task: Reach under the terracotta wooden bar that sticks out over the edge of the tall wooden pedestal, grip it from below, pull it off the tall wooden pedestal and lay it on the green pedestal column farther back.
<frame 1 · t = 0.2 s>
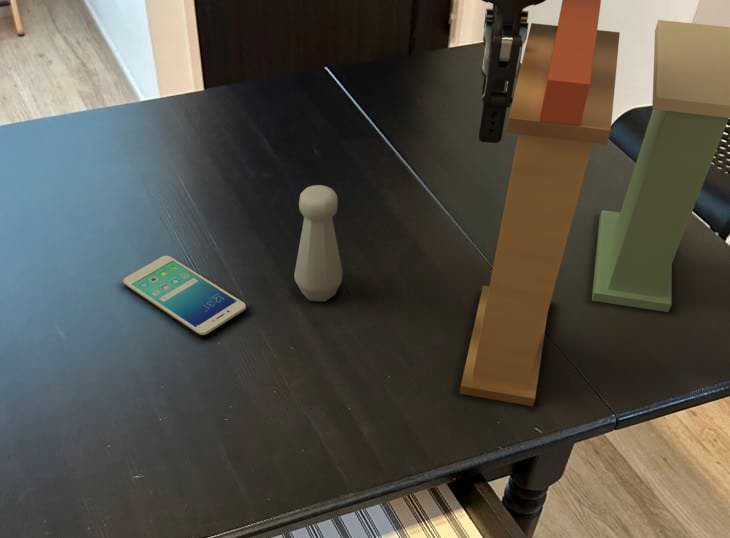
hand: (490, 119, 84), 21 cm above the table, tool pointing down, fingers open, 8 cm apart
tall wooden pedestal: (505, 346, 94), on the table
smartphone: (184, 299, 100), on the table
salt shaker: (318, 292, 101), on the table
green pedestal column: (631, 262, 104), on the table
bar: (572, 46, 73), point 30 cm above the table, touching tall wooden pedestal
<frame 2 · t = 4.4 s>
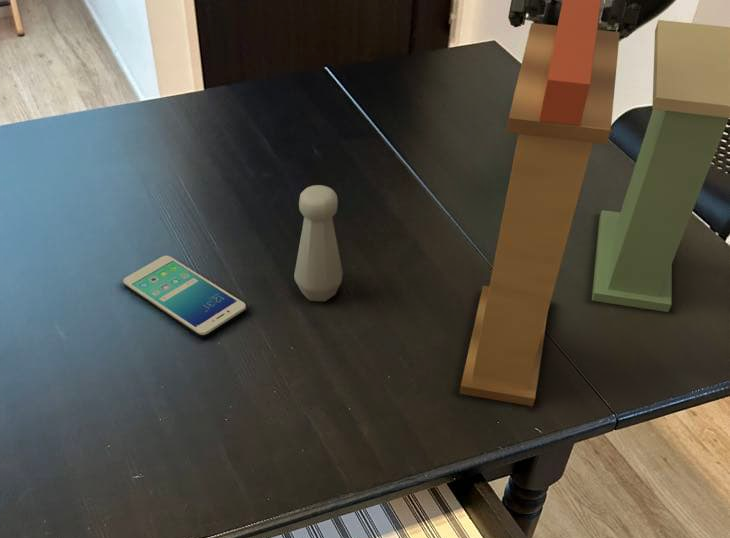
hand: (576, 2, 89), 26 cm above the table, tool pointing upward, fingers open, 8 cm apart
nothing on the table moved.
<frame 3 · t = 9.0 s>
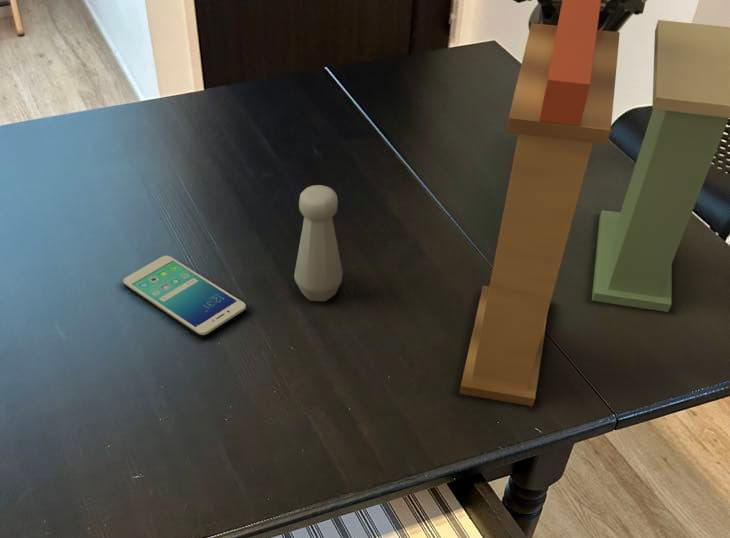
bar: (572, 46, 73), point 30 cm above the table, touching gripper, tall wooden pedestal
everything else where it was.
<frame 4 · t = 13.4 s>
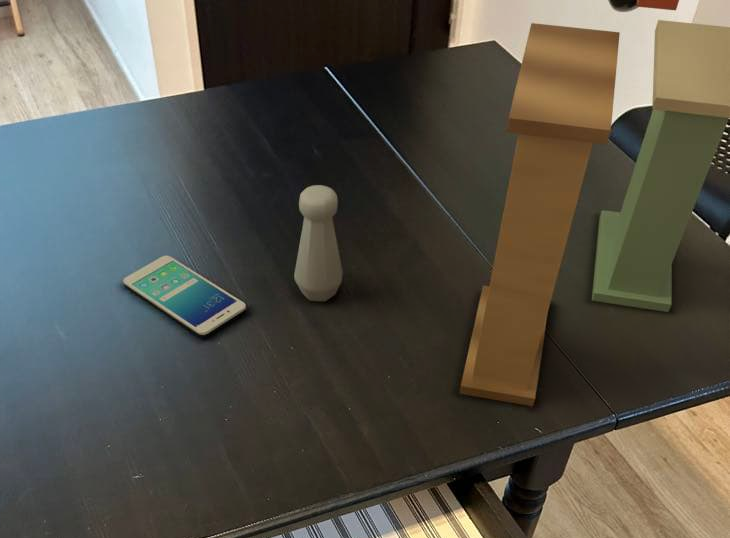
when the fingers open (27 cm above the table, at t = 17.8 s): bar stays where it is, resting on green pedestal column.
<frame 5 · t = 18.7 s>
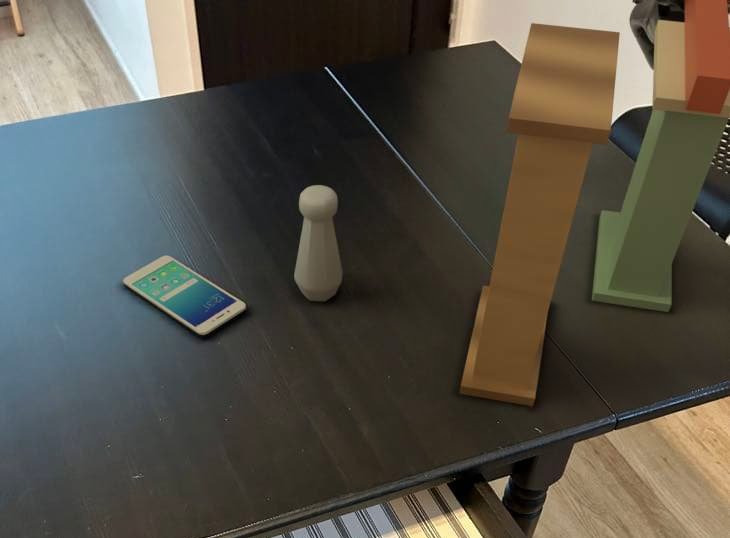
bar: (700, 47, 86), point 24 cm above the table, touching green pedestal column
everything else where it was.
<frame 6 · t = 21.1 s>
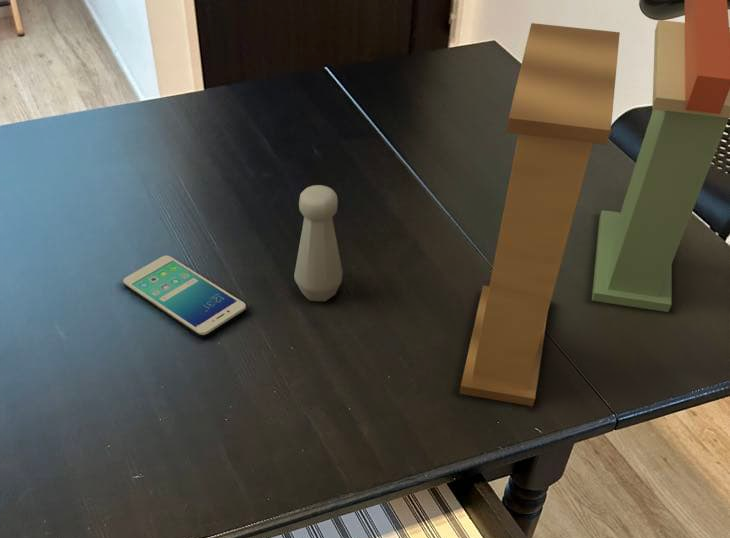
nothing on the table moved.
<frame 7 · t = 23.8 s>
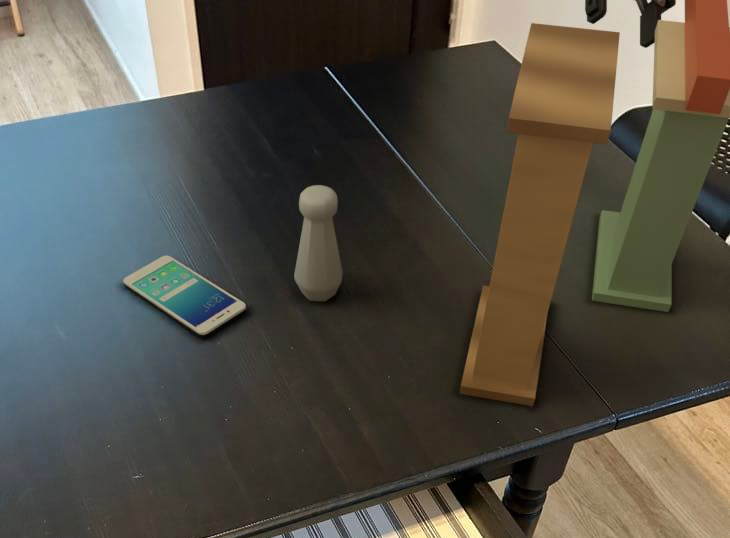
hand: (623, 31, 92), 22 cm above the table, tool tilted 55°, fingers open, 8 cm apart
nothing on the table moved.
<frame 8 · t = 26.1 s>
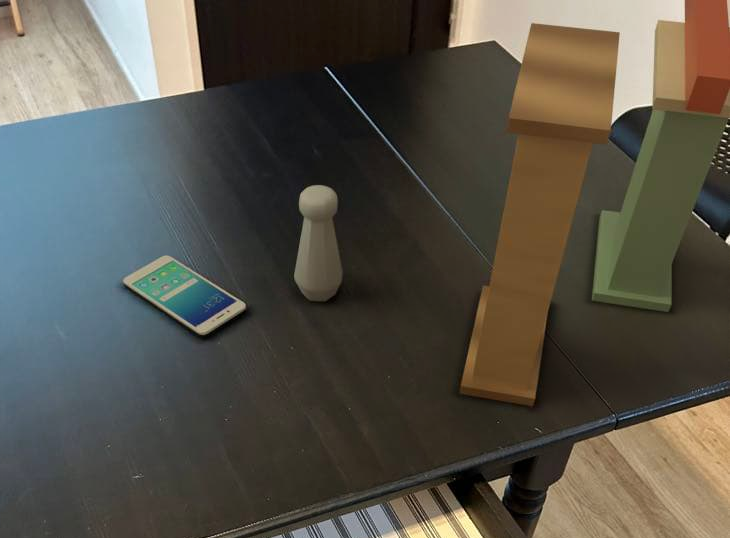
nothing on the table moved.
at the end: bar inside the target area on the green pedestal column (0.4 cm from its centre), point 24.0 cm above the green pedestal column's base; the gripper is holding nothing; bar tilted 0° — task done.
